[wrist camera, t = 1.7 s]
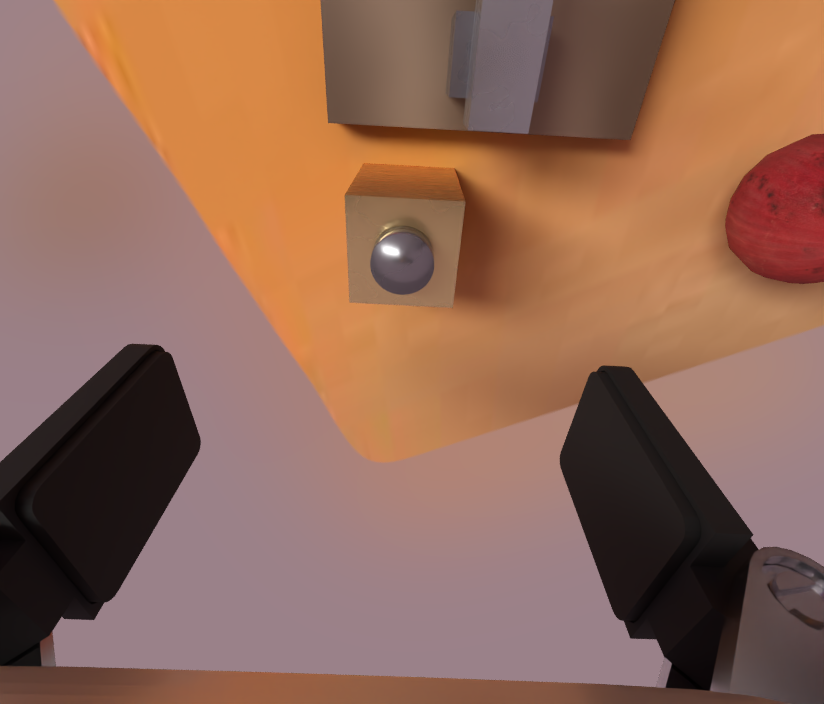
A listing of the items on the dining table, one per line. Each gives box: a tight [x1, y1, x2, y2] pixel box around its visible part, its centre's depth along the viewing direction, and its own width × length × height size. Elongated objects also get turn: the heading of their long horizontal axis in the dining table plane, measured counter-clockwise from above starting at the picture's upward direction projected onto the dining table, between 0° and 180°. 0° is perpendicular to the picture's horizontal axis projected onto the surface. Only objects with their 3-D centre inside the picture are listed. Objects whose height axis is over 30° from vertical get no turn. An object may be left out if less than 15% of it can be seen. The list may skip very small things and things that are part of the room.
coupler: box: [345, 163, 466, 308], centre depth 18 cm, size 4×4×7 cm
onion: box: [725, 134, 824, 284], centre depth 17 cm, size 6×6×8 cm
